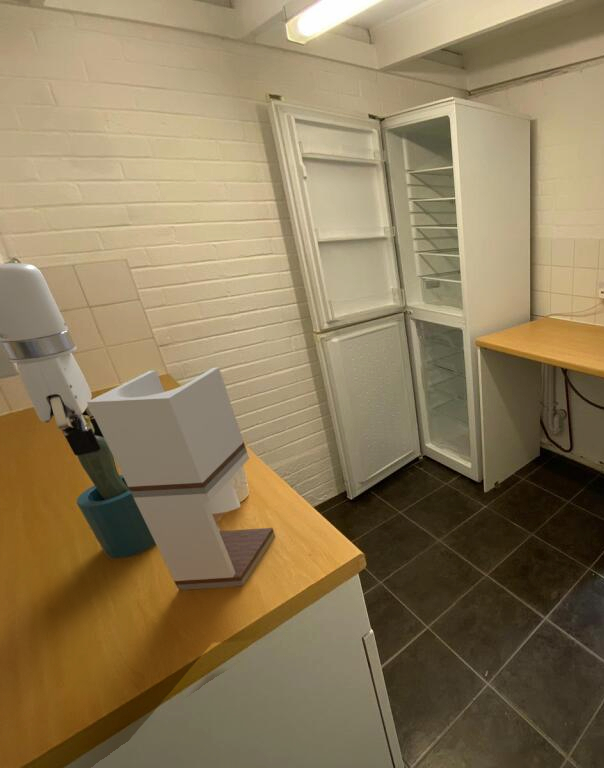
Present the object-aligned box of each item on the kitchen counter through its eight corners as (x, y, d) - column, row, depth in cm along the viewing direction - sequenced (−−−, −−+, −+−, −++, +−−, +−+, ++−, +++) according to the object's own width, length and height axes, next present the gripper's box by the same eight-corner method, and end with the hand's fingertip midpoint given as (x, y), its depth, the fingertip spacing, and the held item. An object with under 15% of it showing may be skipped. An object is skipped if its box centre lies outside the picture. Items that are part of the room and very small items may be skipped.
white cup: (238, 483, 96) (225, 446, 92) (260, 492, 93) (247, 454, 89) (202, 503, 90) (187, 465, 86) (225, 514, 87) (209, 474, 83)
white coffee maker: (243, 585, 70) (168, 398, 56) (178, 590, 70) (86, 402, 56) (275, 536, 80) (218, 367, 66) (218, 539, 80) (150, 370, 66)
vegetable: (122, 521, 76) (73, 425, 68) (103, 519, 77) (51, 423, 69) (146, 505, 80) (101, 412, 72) (127, 503, 81) (81, 411, 73)
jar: (96, 565, 75) (66, 513, 70) (116, 531, 83) (90, 481, 78) (162, 547, 79) (137, 496, 74) (174, 516, 87) (153, 467, 82)
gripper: (22, 338, 69) (72, 433, 77) (-16, 366, 57) (48, 477, 64) (83, 330, 73) (125, 421, 81) (60, 354, 61) (112, 460, 68)
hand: (90, 445), depth 72 cm, fingers closed on vegetable, 4 cm apart
